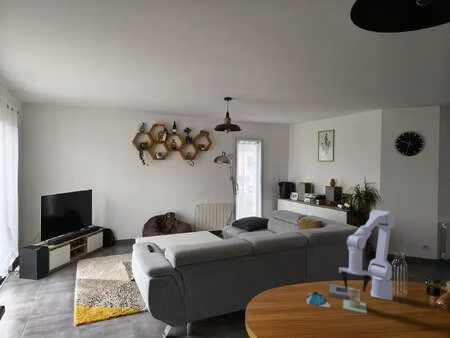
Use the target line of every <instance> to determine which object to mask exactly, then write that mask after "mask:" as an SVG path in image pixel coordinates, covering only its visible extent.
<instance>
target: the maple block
mask: <svg viewBox="0 0 450 338" xmlns="http://www.w3.org/2000/svg"><path fill="white" fill-rule="evenodd" d="M360 302H361V290H360V289H356V288H354V289H351V288H350V303H349V307H354V308H360Z"/></svg>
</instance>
